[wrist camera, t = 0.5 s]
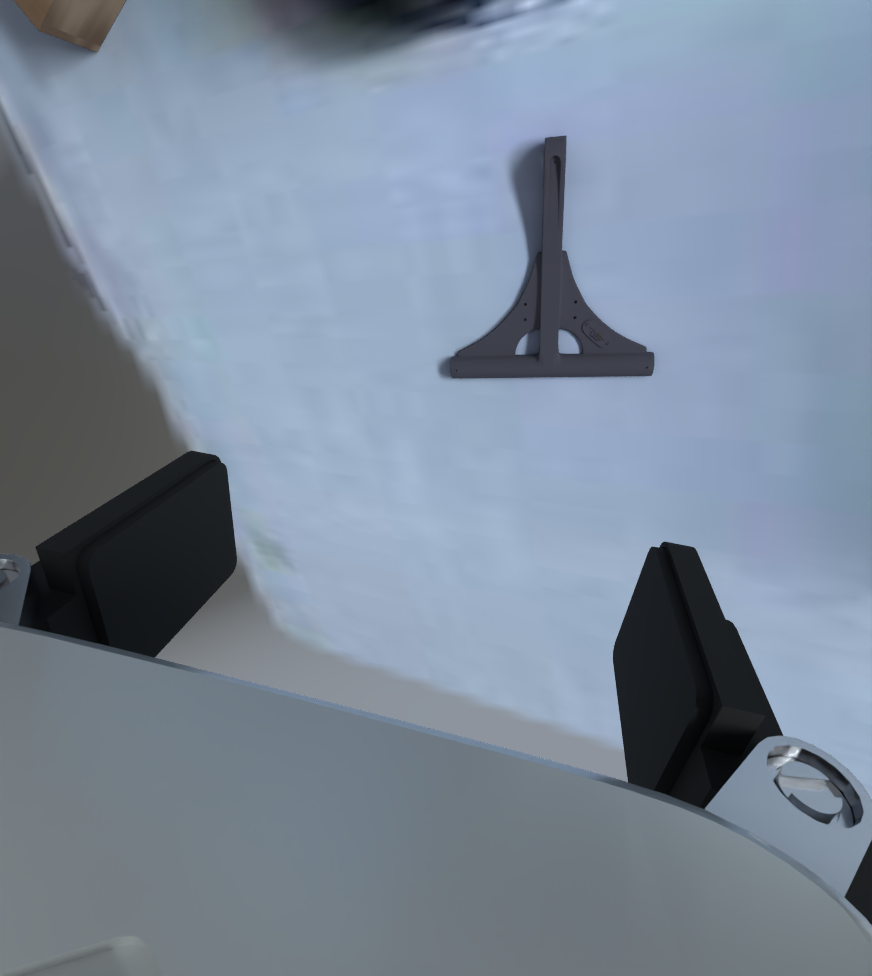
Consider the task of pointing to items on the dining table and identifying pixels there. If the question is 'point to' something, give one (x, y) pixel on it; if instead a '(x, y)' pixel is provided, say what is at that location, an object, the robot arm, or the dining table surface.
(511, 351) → the bracket
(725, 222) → the dining table surface
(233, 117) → the dining table surface
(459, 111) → the dining table surface
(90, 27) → the box
